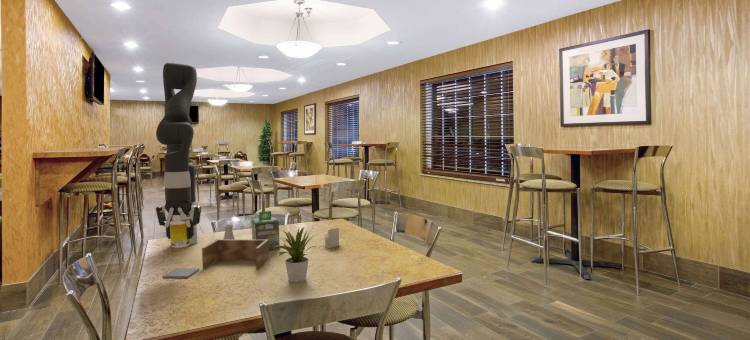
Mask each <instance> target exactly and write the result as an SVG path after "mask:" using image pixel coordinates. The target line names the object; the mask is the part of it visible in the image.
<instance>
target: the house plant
mask: <svg viewBox="0 0 750 340" xmlns="http://www.w3.org/2000/svg"><path fill="white" fill-rule="evenodd" d="M304 230H305V227H304V226H303V227H301V229H300V228H298V229H297V231H296V235H295V238H294V236H293V235H292V233H290V231H286V230H284V229H280V228H279V231H282V232H283V233H285V236H286V238H285V237H281V236H280V235H279V236H278V237H279V240H282V241H283V242H284V243H281V244H282V245H280V244H279V245H277V246H274V247H280V249H278V250H279V252H277V253H276V255H278V257H280V256H281V255H283V254H287V255H288V257H287V258H285V260H284V262H285V268H286V273H287V277H288V282H291V283H303V282H305V281H306V280H307V273H308V264H309V258H308V257H307V255H308V254H307V253H306V252H307V250H309V249H311V248H314V247H315V248H316V247H317V245H312V246H310V247H308V248H307V249H306V248H305V247H306V246H307V244H308V243H309V242H310V241H311V239H312V238H313V237H314V235H312V236H311V237H309V236H310V232H311V231H309V232H308V230H307V229H306V230H305V232H304ZM307 232H308V233H307ZM303 234H304V235H303ZM302 236H303V237H302ZM308 238H309V239H308ZM286 242H287V243H286ZM281 249H283V250H285V251H283V250H281ZM305 249H306V250H305ZM280 250H281V251H280ZM305 253H306V254H305Z"/></svg>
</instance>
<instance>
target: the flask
mask: <svg viewBox="0 0 750 340" xmlns="http://www.w3.org/2000/svg"><path fill="white" fill-rule="evenodd" d="M233 226H234V225H233V224H225V225H223V228H224V235H223V239H222V240H236V237H235V234H234V231H233Z"/></svg>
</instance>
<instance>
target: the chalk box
mask: <svg viewBox="0 0 750 340" xmlns="http://www.w3.org/2000/svg"><path fill="white" fill-rule="evenodd" d="M264 215H267V216H266V217H263V216H264ZM250 224H251V237H252V239H251V240H269V252H270V251H277V250H278V249H280V250H281V248H280V247H274V246H277V245H280V239H279V238H280V230H279V229H280V220H279V219H278V218H275V217H274V216H272V211H271V210H267V211H259V213H258V218H251V221H250ZM278 236H279V237H278Z"/></svg>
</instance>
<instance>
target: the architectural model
mask: <svg viewBox="0 0 750 340" xmlns="http://www.w3.org/2000/svg"><path fill="white" fill-rule="evenodd" d="M339 231H340V228H339V227H336V228H335V227H334V228H333V227H331V228H330V229H328V230H327V234H325V235H324V237H322V240H324V244H325V245H324V247H325V248H326V249H330V248H335V247H338V246H340V238H341V235H340V232H339Z"/></svg>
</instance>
